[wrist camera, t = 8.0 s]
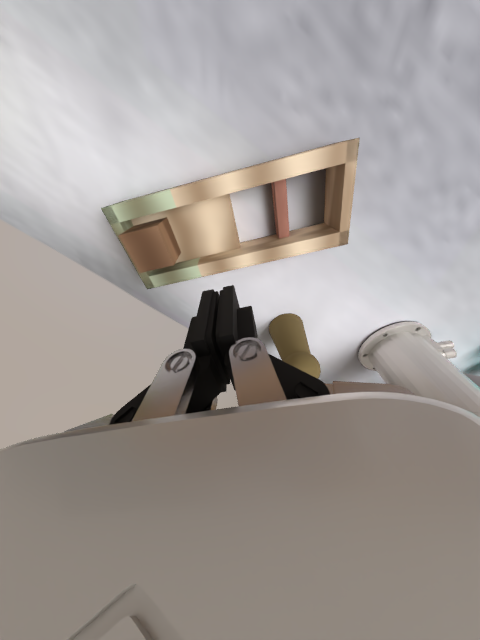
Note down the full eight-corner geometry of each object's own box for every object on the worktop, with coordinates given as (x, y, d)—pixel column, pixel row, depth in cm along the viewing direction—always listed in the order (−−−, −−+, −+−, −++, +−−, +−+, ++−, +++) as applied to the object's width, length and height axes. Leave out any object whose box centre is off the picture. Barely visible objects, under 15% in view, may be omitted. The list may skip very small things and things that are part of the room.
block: (167, 217, 22) (156, 225, 19) (181, 252, 25) (174, 265, 21) (133, 225, 22) (118, 235, 19) (150, 259, 25) (139, 273, 22)
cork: (309, 326, 35) (336, 378, 27) (283, 344, 38) (299, 397, 29) (288, 307, 33) (310, 358, 24) (261, 328, 35) (272, 381, 27)
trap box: (336, 142, 20) (359, 137, 17) (331, 233, 26) (347, 244, 22) (121, 201, 23) (101, 208, 19) (157, 273, 28) (147, 289, 25)
